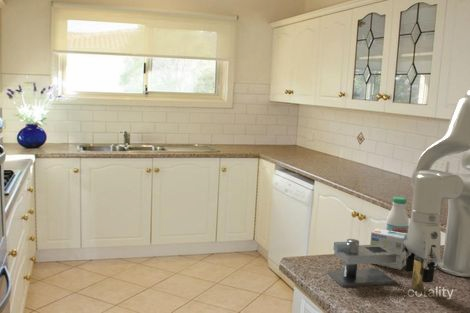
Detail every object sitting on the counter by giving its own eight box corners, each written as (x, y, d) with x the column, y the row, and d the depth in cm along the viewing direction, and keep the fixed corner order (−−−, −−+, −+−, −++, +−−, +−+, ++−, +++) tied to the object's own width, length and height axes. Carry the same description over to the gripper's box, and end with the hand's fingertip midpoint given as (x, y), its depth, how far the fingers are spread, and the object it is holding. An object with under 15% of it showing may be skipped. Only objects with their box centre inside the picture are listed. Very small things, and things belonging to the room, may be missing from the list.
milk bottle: (378, 249, 174) (383, 195, 172) (396, 248, 177) (401, 195, 174) (392, 257, 167) (398, 200, 165) (410, 255, 170) (416, 200, 167)
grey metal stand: (377, 271, 153) (380, 234, 151) (394, 284, 143) (398, 245, 142) (325, 273, 149) (328, 236, 147) (340, 287, 139) (343, 246, 138)
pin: (419, 286, 143) (422, 253, 141) (426, 290, 140) (429, 257, 138) (408, 286, 142) (412, 253, 141) (415, 291, 139) (419, 258, 137)
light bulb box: (405, 264, 161) (408, 233, 159) (401, 270, 155) (404, 238, 153) (373, 257, 166) (376, 227, 165) (367, 263, 160) (370, 231, 159)
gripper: (456, 225, 130) (449, 288, 133) (418, 209, 147) (412, 265, 150) (432, 225, 129) (425, 289, 131) (396, 209, 145) (390, 266, 148)
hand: (418, 276), depth 140 cm, fingers open, 7 cm apart
